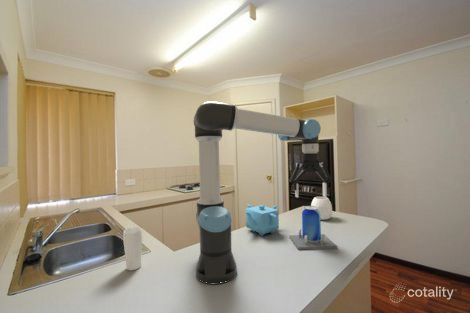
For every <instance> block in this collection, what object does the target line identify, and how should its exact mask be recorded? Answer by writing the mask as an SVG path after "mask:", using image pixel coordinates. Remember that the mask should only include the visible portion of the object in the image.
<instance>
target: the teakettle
mask: <svg viewBox="0 0 470 313" xmlns="http://www.w3.org/2000/svg"><path fill="white" fill-rule="evenodd" d="M246 206H247V208H245V211H244V212H243V214H245V221H246V222H245V223H246V224H245V228H247V229H250V232H251V231H252V232H251V233H256V232H257V233H258V236H259V235H262V236H261V237H264V236H265V234H269V232H270V234H273V233H275V231H278V230H279V229H280V227H279V224H280V223H279V219H280V218H279V210H278V209H277V207H278V206H279V205H277V204H276V205H273V206H272V207H269V206H265V205H264V204H259V205H257V206H252V205H251V204H249V203H247V204H246ZM255 231H256V232H255ZM263 235H264V236H263Z"/></svg>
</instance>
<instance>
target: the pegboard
mask: <svg viewBox="0 0 470 313" xmlns="http://www.w3.org/2000/svg"><path fill="white" fill-rule="evenodd" d="M288 239H290V241H291V242H292V245H294V247H295V248H296V249H297V250H298V251H303V250H307V251H308V250H327V249H328V250H331V249H332V250H333V249H338V245H337V244H336V243H334V241H332V240H331V239H330V238H329V237H328V236H326V234H324V233H321V239H320V240H319V242H318V243H309V242H307V235H305V240H304V238H303V235H302V228H298V234H294V235H293V234H292V235H291V234H290V235H289V236H288Z"/></svg>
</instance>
